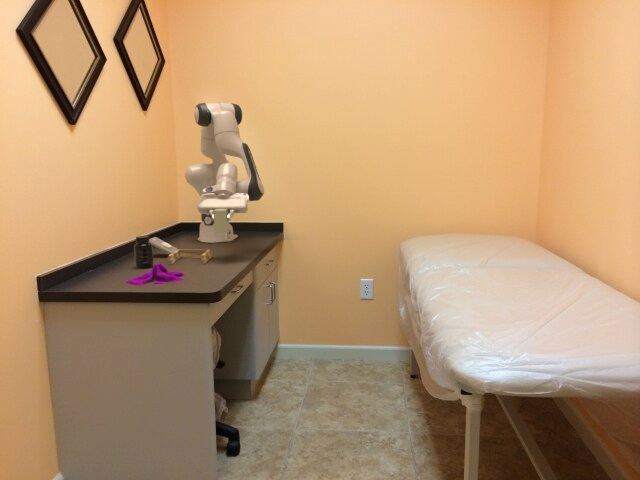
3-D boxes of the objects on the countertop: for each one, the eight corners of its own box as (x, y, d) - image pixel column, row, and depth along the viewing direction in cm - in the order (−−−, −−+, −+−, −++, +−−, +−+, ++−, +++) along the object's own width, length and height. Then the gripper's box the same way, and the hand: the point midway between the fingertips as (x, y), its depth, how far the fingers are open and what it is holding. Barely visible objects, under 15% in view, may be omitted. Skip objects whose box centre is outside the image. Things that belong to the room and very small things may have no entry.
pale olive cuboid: (218, 230, 205) (217, 208, 204) (228, 230, 205) (228, 208, 204) (214, 233, 198) (213, 210, 197) (225, 232, 198) (224, 210, 197)
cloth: (119, 287, 167) (118, 269, 166) (139, 274, 185) (138, 258, 184) (185, 286, 167) (184, 268, 166) (199, 274, 185) (198, 257, 184)
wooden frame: (177, 257, 213) (177, 249, 212) (211, 257, 213) (211, 249, 212) (168, 264, 199) (167, 256, 198) (204, 264, 199) (203, 255, 198)
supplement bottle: (134, 265, 198) (132, 235, 196) (152, 264, 200) (151, 234, 198) (135, 269, 191) (133, 238, 189) (154, 267, 194) (152, 237, 192)
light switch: (177, 254, 212) (148, 237, 212) (172, 266, 213) (142, 249, 213) (185, 250, 220) (156, 234, 220) (179, 261, 221) (151, 246, 221)
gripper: (250, 198, 211) (247, 224, 203) (202, 198, 211) (197, 224, 203) (248, 188, 206) (245, 214, 198) (199, 188, 206) (194, 215, 198)
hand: (221, 219), depth 200 cm, fingers closed on pale olive cuboid, 4 cm apart
